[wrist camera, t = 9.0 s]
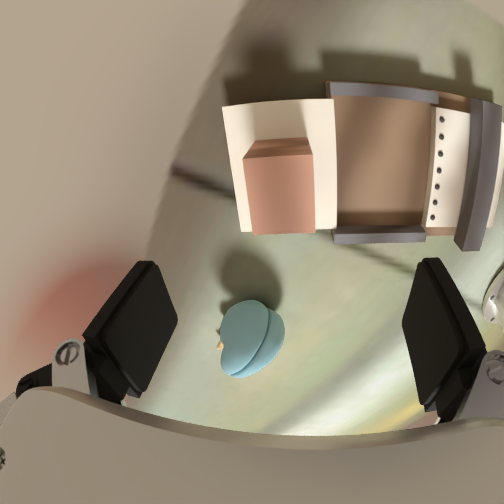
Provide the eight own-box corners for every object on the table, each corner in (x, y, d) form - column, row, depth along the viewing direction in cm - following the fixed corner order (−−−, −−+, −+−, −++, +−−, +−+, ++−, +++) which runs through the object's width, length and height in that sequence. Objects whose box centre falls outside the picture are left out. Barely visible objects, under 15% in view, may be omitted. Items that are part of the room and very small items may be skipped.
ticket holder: (493, 105, 16) (520, 112, 12) (477, 228, 23) (497, 250, 19) (324, 81, 19) (332, 78, 15) (330, 229, 26) (336, 255, 23)
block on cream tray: (331, 98, 18) (349, 102, 13) (335, 223, 24) (346, 270, 18) (225, 106, 20) (197, 114, 14) (243, 226, 26) (227, 272, 20)
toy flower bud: (180, 377, 30) (231, 343, 24) (201, 323, 37) (249, 277, 31) (229, 399, 32) (292, 373, 25) (243, 346, 39) (298, 308, 32)
